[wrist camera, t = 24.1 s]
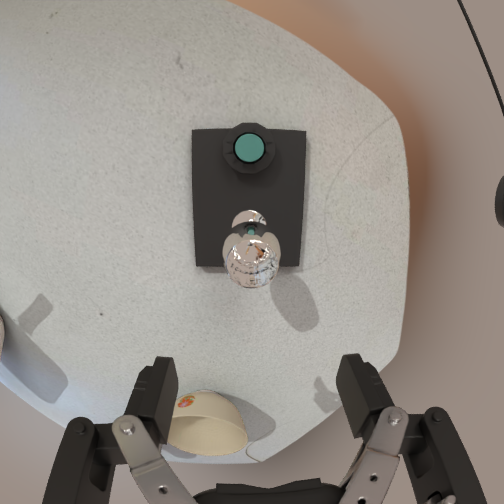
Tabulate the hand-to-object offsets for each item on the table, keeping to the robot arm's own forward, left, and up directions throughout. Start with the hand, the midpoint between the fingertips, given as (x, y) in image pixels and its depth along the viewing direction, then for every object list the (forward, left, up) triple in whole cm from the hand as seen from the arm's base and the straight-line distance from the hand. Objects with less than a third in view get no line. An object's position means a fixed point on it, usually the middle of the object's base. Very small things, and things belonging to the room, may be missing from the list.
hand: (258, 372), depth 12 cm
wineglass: (0, 0, -25) cm, 25 cm away
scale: (-4, 0, -26) cm, 26 cm away
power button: (-10, 0, -24) cm, 26 cm away
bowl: (+36, -8, -26) cm, 45 cm away
